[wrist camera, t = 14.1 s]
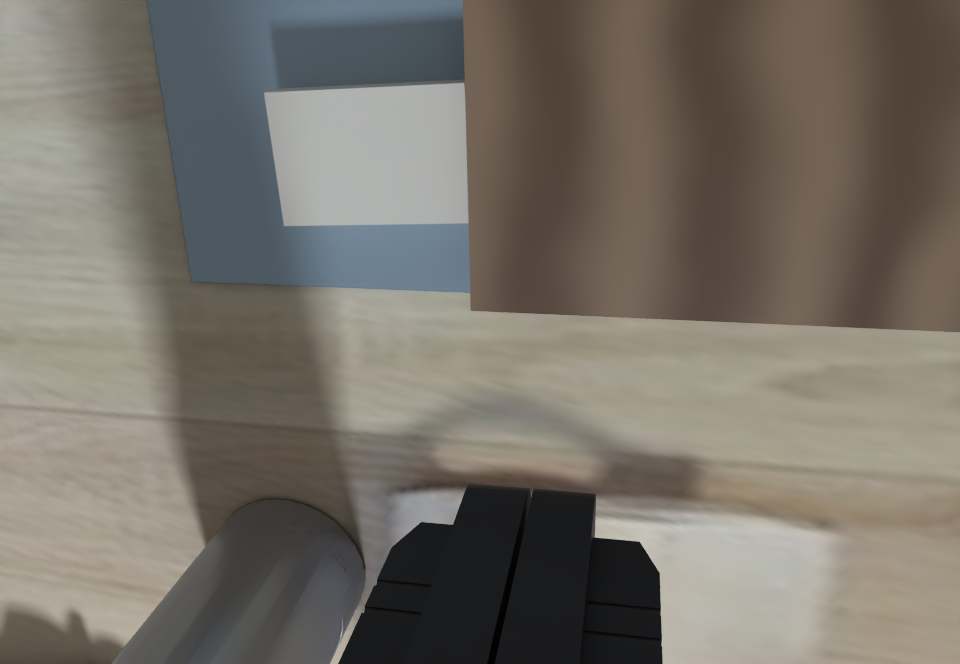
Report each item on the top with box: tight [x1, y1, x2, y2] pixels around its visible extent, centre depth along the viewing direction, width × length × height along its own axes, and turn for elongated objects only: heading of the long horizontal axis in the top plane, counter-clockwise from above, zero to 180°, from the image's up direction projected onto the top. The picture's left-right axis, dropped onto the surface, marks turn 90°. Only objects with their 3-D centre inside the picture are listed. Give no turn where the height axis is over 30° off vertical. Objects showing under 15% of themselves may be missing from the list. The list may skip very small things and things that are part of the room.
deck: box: [463, 0, 960, 332], centre depth 34 cm, size 20×13×4 cm, turn 92°
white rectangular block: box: [264, 79, 469, 226], centre depth 37 cm, size 9×6×2 cm, turn 94°
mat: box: [147, 0, 470, 293], centre depth 38 cm, size 15×14×1 cm
